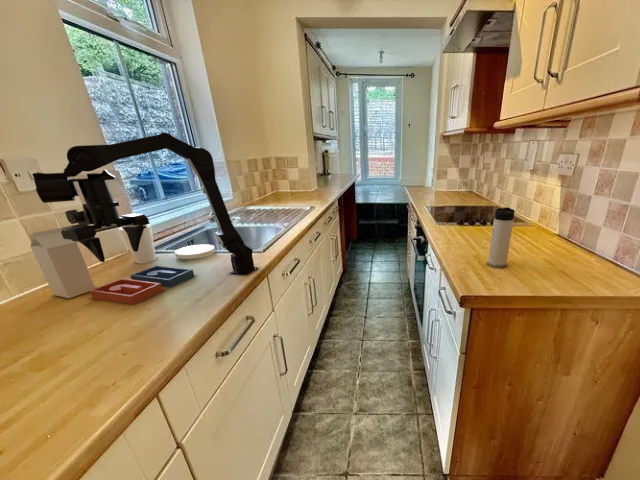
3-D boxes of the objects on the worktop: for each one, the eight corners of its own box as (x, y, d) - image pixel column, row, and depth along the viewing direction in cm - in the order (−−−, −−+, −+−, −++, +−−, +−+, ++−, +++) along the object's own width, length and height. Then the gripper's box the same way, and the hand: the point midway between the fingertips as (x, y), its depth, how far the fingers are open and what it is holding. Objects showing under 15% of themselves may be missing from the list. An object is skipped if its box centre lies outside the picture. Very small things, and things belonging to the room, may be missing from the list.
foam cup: (129, 266, 115) (116, 231, 110) (132, 259, 123) (121, 225, 117) (160, 261, 120) (149, 227, 114) (161, 255, 127) (151, 222, 122)
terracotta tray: (163, 290, 96) (160, 283, 95) (133, 304, 88) (130, 296, 87) (124, 285, 100) (121, 278, 99) (92, 298, 91) (89, 290, 90)
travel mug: (508, 263, 116) (517, 208, 108) (503, 269, 111) (512, 211, 103) (490, 260, 119) (498, 206, 111) (485, 265, 114) (493, 209, 106)
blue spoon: (182, 276, 105) (180, 270, 104) (170, 282, 101) (168, 275, 100) (157, 273, 107) (155, 267, 106) (144, 278, 103) (142, 272, 102)
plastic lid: (182, 251, 131) (181, 245, 130) (219, 248, 134) (218, 243, 133) (171, 262, 119) (169, 256, 118) (211, 259, 122) (210, 253, 121)
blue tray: (194, 276, 106) (192, 269, 105) (170, 287, 98) (168, 279, 97) (158, 272, 110) (156, 265, 109) (132, 282, 102) (129, 275, 101)
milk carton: (96, 289, 97) (71, 228, 89) (69, 299, 91) (39, 234, 83) (81, 286, 99) (55, 226, 91) (53, 295, 93) (23, 232, 85)
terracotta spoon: (149, 291, 94) (146, 284, 93) (134, 298, 90) (131, 290, 89) (122, 287, 97) (119, 280, 96) (106, 294, 93) (103, 286, 92)
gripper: (112, 193, 92) (130, 245, 98) (32, 203, 75) (60, 265, 82) (142, 194, 89) (158, 247, 96) (66, 205, 73) (92, 269, 79)
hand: (120, 256), depth 88 cm, fingers open, 9 cm apart
